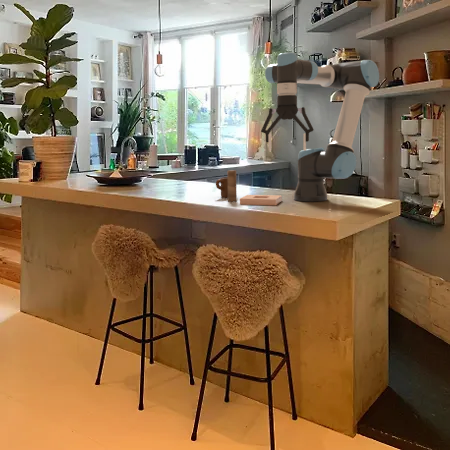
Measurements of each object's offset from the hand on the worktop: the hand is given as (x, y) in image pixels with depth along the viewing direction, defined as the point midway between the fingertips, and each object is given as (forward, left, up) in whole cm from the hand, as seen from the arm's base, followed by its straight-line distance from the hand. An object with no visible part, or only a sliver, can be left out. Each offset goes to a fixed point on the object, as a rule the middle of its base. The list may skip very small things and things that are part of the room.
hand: (287, 150), depth 208 cm
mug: (-35, -36, -24) cm, 56 cm away
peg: (-22, -29, -24) cm, 44 cm away
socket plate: (-20, -15, -24) cm, 35 cm away
